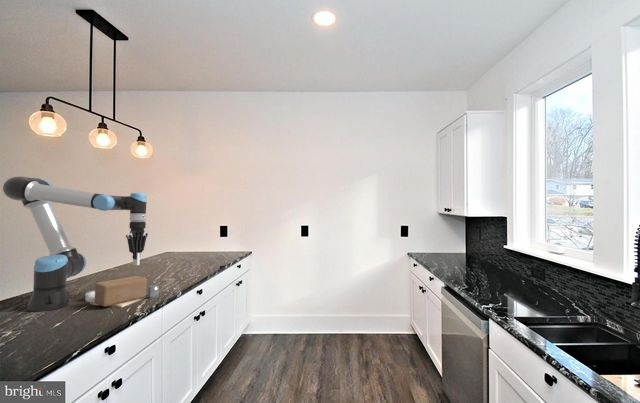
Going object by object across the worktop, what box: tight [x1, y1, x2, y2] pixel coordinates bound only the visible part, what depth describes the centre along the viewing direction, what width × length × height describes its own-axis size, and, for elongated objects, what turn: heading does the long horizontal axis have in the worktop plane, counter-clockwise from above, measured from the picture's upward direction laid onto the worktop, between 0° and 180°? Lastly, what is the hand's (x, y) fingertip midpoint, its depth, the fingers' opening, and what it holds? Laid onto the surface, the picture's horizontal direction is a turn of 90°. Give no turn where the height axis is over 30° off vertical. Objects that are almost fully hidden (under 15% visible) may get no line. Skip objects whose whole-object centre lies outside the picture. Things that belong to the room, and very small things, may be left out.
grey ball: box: [147, 284, 160, 300], centre depth 160 cm, size 5×5×6 cm
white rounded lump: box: [84, 290, 95, 303], centre depth 154 cm, size 6×6×4 cm
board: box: [89, 295, 148, 308], centre depth 153 cm, size 18×16×1 cm
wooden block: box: [94, 275, 148, 307], centre depth 151 cm, size 10×10×20 cm
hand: (136, 264), depth 163 cm, fingers closed
